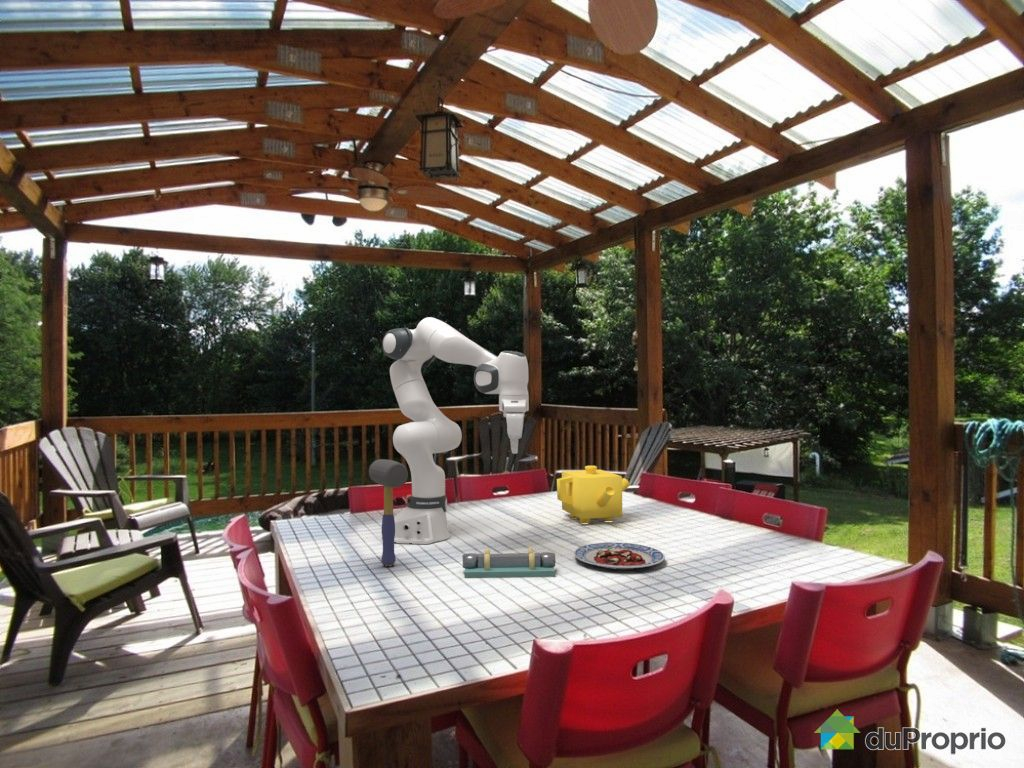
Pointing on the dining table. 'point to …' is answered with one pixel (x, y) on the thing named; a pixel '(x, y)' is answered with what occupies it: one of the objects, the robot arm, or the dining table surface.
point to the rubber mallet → (388, 501)
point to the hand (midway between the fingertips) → (514, 451)
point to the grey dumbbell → (508, 560)
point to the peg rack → (509, 569)
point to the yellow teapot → (591, 494)
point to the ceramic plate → (619, 555)
